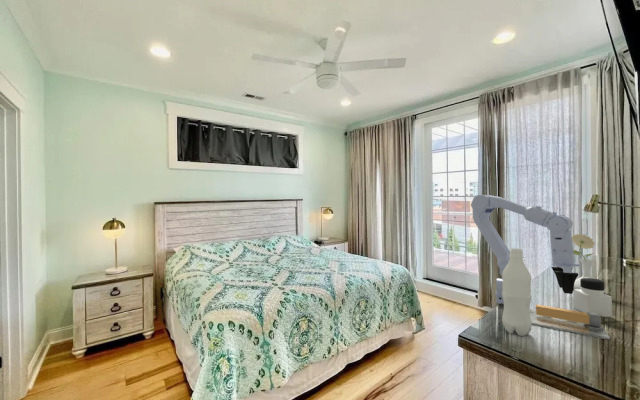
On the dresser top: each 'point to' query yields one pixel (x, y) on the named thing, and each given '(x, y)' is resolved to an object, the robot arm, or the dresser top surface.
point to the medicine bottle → (592, 297)
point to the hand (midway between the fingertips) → (565, 290)
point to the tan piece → (569, 315)
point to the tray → (567, 325)
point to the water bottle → (516, 294)
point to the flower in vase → (584, 243)
